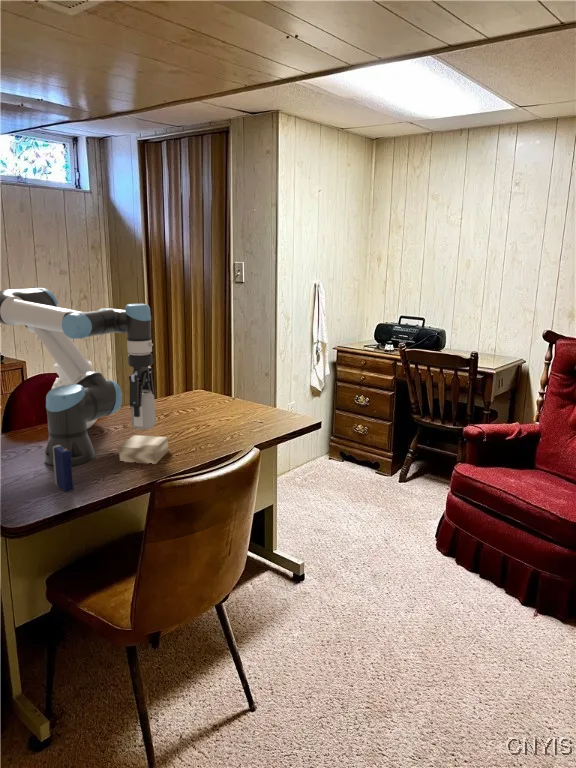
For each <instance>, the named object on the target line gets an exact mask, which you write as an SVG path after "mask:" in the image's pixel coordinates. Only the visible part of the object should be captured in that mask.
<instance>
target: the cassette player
mask: <svg viewBox="0 0 576 768" xmlns="http://www.w3.org/2000/svg"><path fill="white" fill-rule="evenodd" d="M53 464H54V466H53V475H54V484H56V485H58V486H59V487H60V488H59V487H58V486H57V487H58V488H59V489H60V490H62V489H63V490H64V491H63V490H62V491H63V492H65V491H68V492H70V491H69V490H72V491H74V482H73V471H72V466H71V454H70V451H69V450H67V449H66V448H64V447H63V446H61V445H56V446H53Z"/></svg>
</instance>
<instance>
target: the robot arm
mask: <svg viewBox="0 0 576 768" xmlns="http://www.w3.org/2000/svg"><path fill="white" fill-rule="evenodd" d="M58 304H59V303H58V300H57V297H56V296H55V295H54V293H53V292H51V291H50V289H47V288H44V287H29V288H12V289H1V290H0V324H3V325H7V326H8V325H9V326H18V325H23V326H25V328H26V329H27V331H29V332H30V333H35V334H36V335H37V337H38V338H39V341H41V343H42V344H43V346H44V347H45V348H46V349H47V350H46V351H48V353H49V354H50V356H51V357H52V358H53V360H54V361H55V363H57V364H58V366H59V367H60V368H61V370H62V371H63V373H64V374H65V376H66V377H67V378H68V380H69V381H70V383H71V384H70V385H66V386H59V387H56V388H54V389H52V388H51V389H50V390H48V392H47V394H46V396H45V409H46V415H47V417H46V418H47V430H48V440H47V445H46V447H45V452H44V461H45V463H46V464H48V465H49V466H53V467H54V464H53V446H56V445H61V446H63V447H64V448H66V449H67V450H69V451H70V454H71V467H72V465H73V466H78V465H81V464H85V463H87V461H88V462H90V461H91V459H92V460H93V459H94V458H95V456H96V455H95V448H94V446H93V444H92V443H93V442H92V441H91V439H90V436H89V434H88V428H87V422H89V421H92V420H95V419H97V420H98V419H101V418H104V417H109V416H110V415H112V414H115V413H116V412H118V410H119V409H120V408H121V406H122V403H123V393H122V389H121V387H120V385H119V384H118V383H117V382H116V381H115V380H111V379H106V378H105V377H104V376H103V374H102V373H101V372H99V371H95V370H94V369H93V368H92V366H90V365H89V363H88V362H87V361H86V360H87V359H86V357H84V355H83V353H81V351H80V349H79V347H77V345H76V344H75V342H74V341H73V340H75V339H76V340H77V339H78V340H79V339H84V338H89V337H90V338H91V337H95V336H102V335H108V334H115V333H116V334H118V333H119V334H126V341H127V342H126V343H127V344H126V345H127V349H126V350H127V353H128V355H127V359H128V360H127V362H128V366H129V367H132V368H133V370H132V374H129V375H128V380H129V407H130V408H131V407H133V415H134V426H143V414H142V406H141V398H142V390H150V391H152V394H153V395H154V399H155V389H154V377H153V367H151V366H152V365H153V364H154V362H153V361H154V360H153V358H154V357H153V354H152V352H153V346H154V343H152V338H153V337H152V315H151V308H150V305H148V304H146V303H128V304H126V305H125V309H120V308H112V307H108V308H107V307H106V308H104V307H103V308H100V309H99V310H92V311H79V310H74V309H70V308H64V307H60V306H59V305H58Z"/></svg>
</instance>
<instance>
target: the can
mask: <svg viewBox="0 0 576 768" xmlns="http://www.w3.org/2000/svg"><path fill="white" fill-rule="evenodd" d="M154 397H155V394H154V395H153V394H152V391H150V390H142V398H141V406H142V414H143V426H134V415H133V407H130V414H131V415H130V417H131V418H130V419H131V426H132V427H133V428H134V429H135V430H150V429H153V427H155V425H156V406H155V405H156V404H155V402H156V401H155V398H154Z"/></svg>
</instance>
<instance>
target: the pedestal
mask: <svg viewBox="0 0 576 768" xmlns="http://www.w3.org/2000/svg"><path fill="white" fill-rule="evenodd" d="M118 448H119V449H118V455H119V462H120V461H124V462H123V463H134V462H136V463H137V464H149V463H152V464H153V465H156V464H158V462H159V461H161V459H162V458H163V457H164V456H165V455H167V453H168V452H169V437H167V436H156V435H155V436H152V435H151V436H150V435H139V434H138V435H135V434H134V435H132V436H131V437H130V438H128V439H127V440H126V441H124V442H123V443H122V444H121V445H120V446H119V447H118Z"/></svg>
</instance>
